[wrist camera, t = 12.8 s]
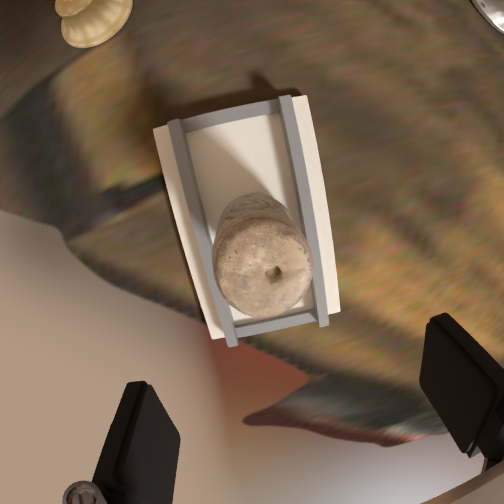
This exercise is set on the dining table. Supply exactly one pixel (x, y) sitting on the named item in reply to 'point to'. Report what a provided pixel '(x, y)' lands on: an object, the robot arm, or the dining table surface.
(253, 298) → the carving
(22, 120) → the dining table surface
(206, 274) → the rail plate
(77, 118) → the dining table surface
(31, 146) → the dining table surface
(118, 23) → the hand bell
